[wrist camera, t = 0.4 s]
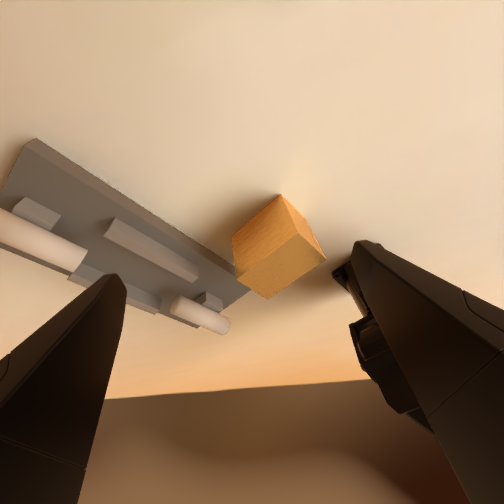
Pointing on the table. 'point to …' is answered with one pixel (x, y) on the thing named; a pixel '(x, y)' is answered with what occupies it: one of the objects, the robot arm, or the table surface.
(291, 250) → the block
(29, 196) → the shaft stand
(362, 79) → the table surface
